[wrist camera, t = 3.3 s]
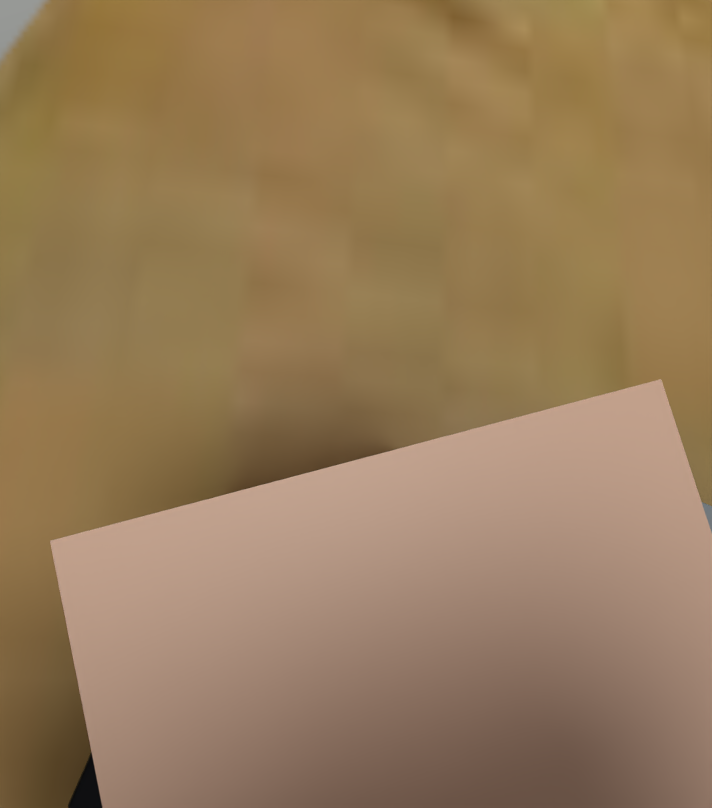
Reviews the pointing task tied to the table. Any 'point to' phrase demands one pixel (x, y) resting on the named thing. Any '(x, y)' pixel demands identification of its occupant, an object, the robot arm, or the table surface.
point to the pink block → (413, 628)
